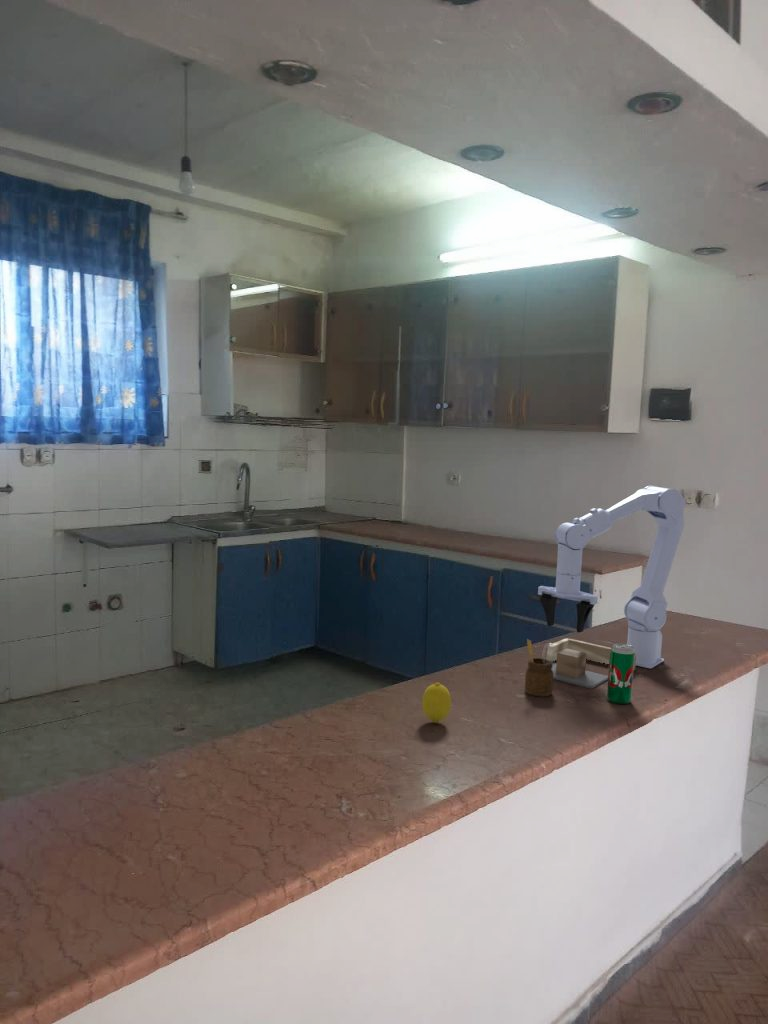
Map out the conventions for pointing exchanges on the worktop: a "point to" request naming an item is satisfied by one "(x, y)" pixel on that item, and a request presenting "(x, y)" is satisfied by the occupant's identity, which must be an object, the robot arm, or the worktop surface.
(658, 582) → the robot arm
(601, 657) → the beige angled piece
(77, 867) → the worktop surface
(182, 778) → the worktop surface
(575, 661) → the wooden cube
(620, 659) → the soda can
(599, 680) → the rubber mat
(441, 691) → the lemon
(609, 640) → the worktop surface
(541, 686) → the utensil holder
